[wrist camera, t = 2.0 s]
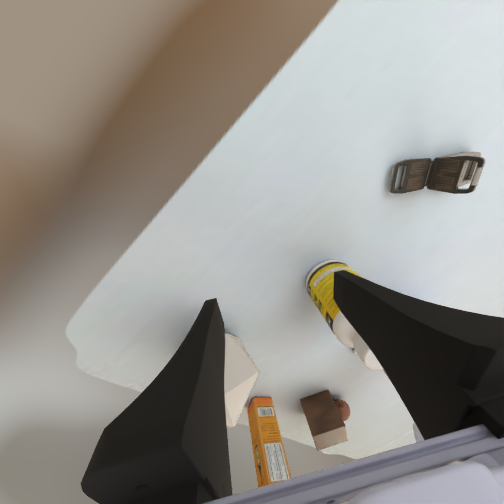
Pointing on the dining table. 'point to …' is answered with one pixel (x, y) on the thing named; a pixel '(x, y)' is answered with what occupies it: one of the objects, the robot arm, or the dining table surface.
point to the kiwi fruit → (343, 409)
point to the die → (237, 378)
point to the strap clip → (440, 173)
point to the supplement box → (267, 443)
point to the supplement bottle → (337, 309)
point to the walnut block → (324, 420)
